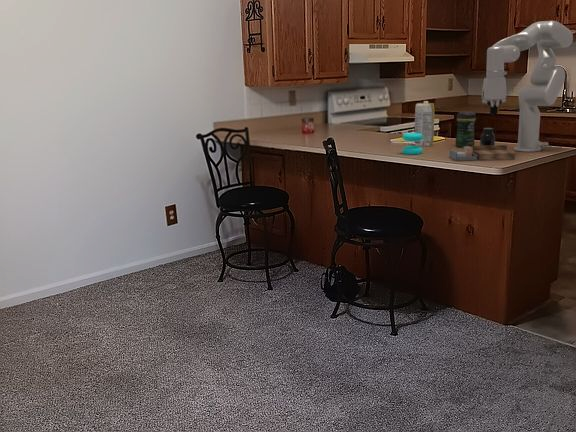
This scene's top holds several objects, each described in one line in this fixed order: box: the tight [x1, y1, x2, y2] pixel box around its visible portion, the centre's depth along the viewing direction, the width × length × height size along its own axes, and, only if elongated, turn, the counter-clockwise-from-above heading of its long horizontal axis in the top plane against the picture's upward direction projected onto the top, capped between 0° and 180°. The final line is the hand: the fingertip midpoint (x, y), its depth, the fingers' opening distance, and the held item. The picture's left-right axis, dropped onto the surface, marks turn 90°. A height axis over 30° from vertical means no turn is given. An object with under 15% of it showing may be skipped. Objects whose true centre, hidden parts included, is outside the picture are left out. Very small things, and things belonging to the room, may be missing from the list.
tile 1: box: [456, 151, 466, 157], centre depth 276 cm, size 5×5×2 cm
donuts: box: [401, 132, 423, 156], centre depth 296 cm, size 10×10×10 cm
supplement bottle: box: [479, 127, 496, 146], centre depth 290 cm, size 7×7×12 cm
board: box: [472, 144, 516, 161], centre depth 275 cm, size 16×12×5 cm
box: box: [449, 148, 478, 162], centre depth 276 cm, size 10×12×4 cm
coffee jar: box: [455, 110, 477, 148], centre depth 310 cm, size 10×8×19 cm
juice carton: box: [414, 100, 435, 147], centre depth 319 cm, size 9×8×24 cm
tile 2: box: [463, 146, 473, 156], centre depth 276 cm, size 5×5×2 cm
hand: (493, 115), depth 272 cm, fingers closed
